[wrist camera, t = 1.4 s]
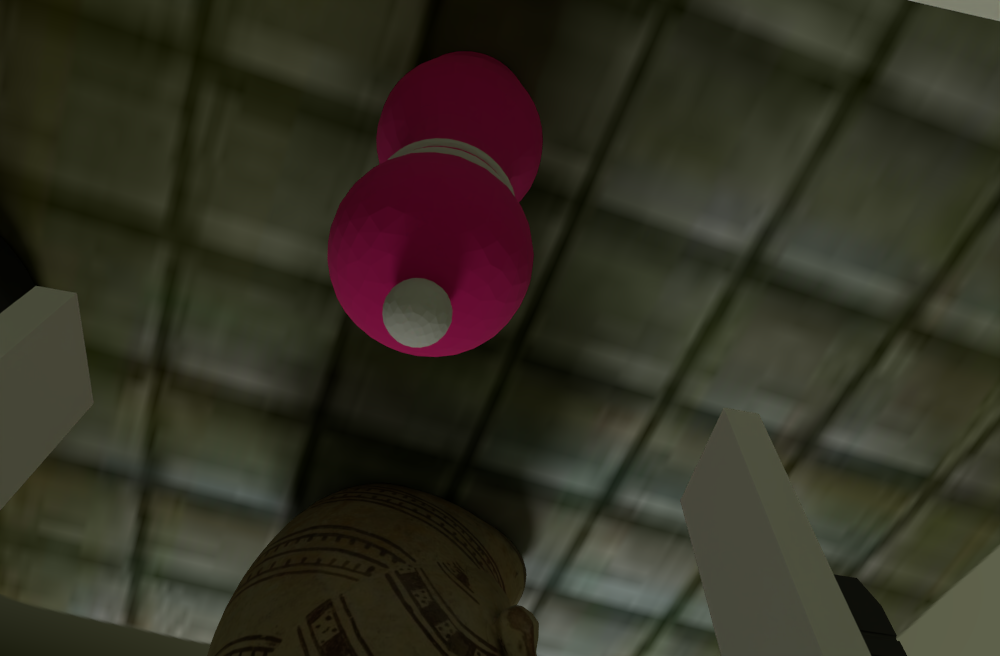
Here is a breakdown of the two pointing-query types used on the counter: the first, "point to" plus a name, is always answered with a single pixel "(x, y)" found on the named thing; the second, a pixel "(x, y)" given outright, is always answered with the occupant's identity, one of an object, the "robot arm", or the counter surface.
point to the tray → (969, 7)
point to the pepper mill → (441, 210)
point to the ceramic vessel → (381, 583)
